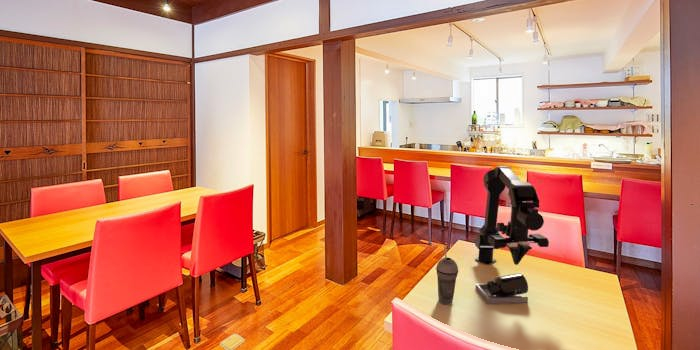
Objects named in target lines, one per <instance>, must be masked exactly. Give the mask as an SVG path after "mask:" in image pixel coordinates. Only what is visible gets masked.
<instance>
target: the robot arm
mask: <svg viewBox="0 0 700 350" xmlns="http://www.w3.org/2000/svg"><path fill="white" fill-rule="evenodd" d="M483 186H484V188H485V190H486V192H487V196H486V202H485V203H486V205H485V213H484V224H483V225H482V226H481V228H480V229H479V232H478V235H477V237H476V238H475V239H474V245H475V247H476V248H477V250H478V256H477V257H476V258H475V259H474V260H475V261H477V262H479V263H482V264H485V265H491V264H493V263H495V262H497V259H495V258H494V250H499V249H505V248H506V247H507V248H508V249H509V252H510V254H511V258H512V261H513V262H512V263H513V264H514V265H515V266H517V265H519V264H520V262H521V261H522V259H523V258H524V257H525V255H527V253H528V252H529V251H530V250H532V249H533V247H531V244H537V246H538V247H539V248H548V247H549V246H550V245H549V244H550V241H549V238H548V237H546V236H544V235H542V234H541V233H530V234H529V231H532V232H534V231H535V232H536V231H538V230H541V228H542V227H543V225H544V224H545V220H544V217H543V215H542V214H540V213H539V209H538V208H540V199H539V197H538V194H537V191H536V188H535V187H534V185H532V184H531V183H529V182H526V181H523V180H521V178H519V177H518V176H517V175H516V173H514V172H513V171H512V168H511V167H510V166H508V165H506V166H504V165H502V166H501V165H498V166H496V167H494V169H491V170H488V171H486V173H485V174H484V175H483ZM506 187H507V189H508V193H507V194H508V197H509V200H510V202H509V204H510V205H511V211H510V220H509V221H508V222H507V225H506V224H505V223H504V222H498V215H499V206H500V196H501V194H502V193H503V192H504V191H505V189H506ZM500 232H501V234H500ZM503 235H505V236H506V237H504V236H503Z"/></svg>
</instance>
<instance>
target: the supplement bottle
mask: <svg viewBox="0 0 700 350" xmlns="http://www.w3.org/2000/svg"><path fill="white" fill-rule="evenodd" d="M486 284H487V287H488V291H489V293H490V295H492V296H494V295H499V296H501V297H507V296H513V295H519V294H520V295H524V294H525V295H526V294H527V293H528V292H529V284H528V281H527V279H526V277H525V276H524V274H522V273H514V274H507V275H501V276H497V277H495V278H494V280H490V281H487V283H486Z"/></svg>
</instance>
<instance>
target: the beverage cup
mask: <svg viewBox="0 0 700 350" xmlns="http://www.w3.org/2000/svg"><path fill="white" fill-rule="evenodd" d="M443 248H444V257H443V258H441V259H440V260H439V261H438V262H437V265H436V267H435V270H436V276H437V296H438V302H439V303H440V304H441V305H446V306H448V305H452V304H453V300H454V295H455V290H456V289H455V288H456V281H457V277H458V274H459V267H458V264H457V262H456V261H455V260H454V259H453V258H451V257H447V247H446V244H444V245H443Z"/></svg>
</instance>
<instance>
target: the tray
mask: <svg viewBox="0 0 700 350" xmlns="http://www.w3.org/2000/svg"><path fill="white" fill-rule="evenodd" d="M475 290H476V291H477V293H479V296H481V297H482V298H483V300H484V301H485V302H486V303H487V304H488V305H509V304H511V305H512V304H528V301H529V297H527V296H522V294H519V295H513V296H507V297H501V296H499V295H494V296H492V295H490V293H489V291H488V287H487V283H476V284H475Z"/></svg>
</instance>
